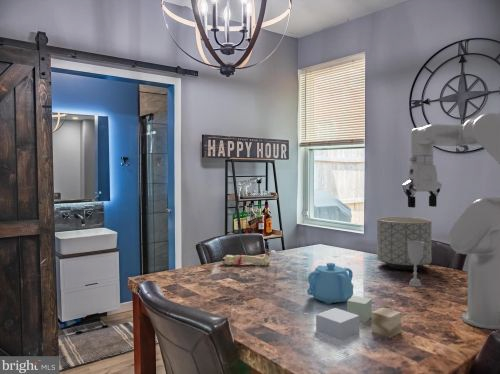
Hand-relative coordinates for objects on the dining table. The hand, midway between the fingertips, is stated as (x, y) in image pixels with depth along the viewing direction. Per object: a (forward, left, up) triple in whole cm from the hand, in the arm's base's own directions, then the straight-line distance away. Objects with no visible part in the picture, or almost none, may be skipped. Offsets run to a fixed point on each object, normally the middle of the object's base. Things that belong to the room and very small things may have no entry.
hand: (422, 206), depth 148 cm
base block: (+1, +49, -35) cm, 60 cm away
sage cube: (+3, +35, -34) cm, 49 cm away
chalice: (+10, -15, -35) cm, 39 cm away
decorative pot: (+21, +27, -35) cm, 49 cm away
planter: (+29, -40, -35) cm, 60 cm away
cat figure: (+86, +15, -35) cm, 94 cm away
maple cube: (-9, +39, -34) cm, 53 cm away
